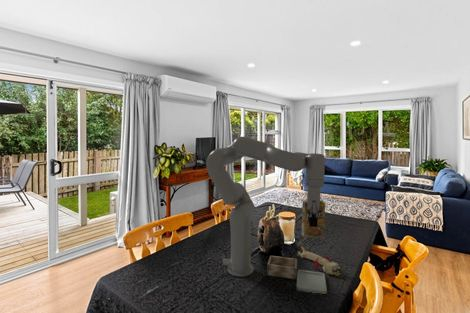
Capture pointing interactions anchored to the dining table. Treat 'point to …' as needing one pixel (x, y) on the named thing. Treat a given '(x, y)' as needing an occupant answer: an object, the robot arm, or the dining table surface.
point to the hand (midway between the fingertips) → (313, 223)
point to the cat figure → (321, 262)
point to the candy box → (319, 230)
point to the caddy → (282, 267)
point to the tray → (311, 282)
